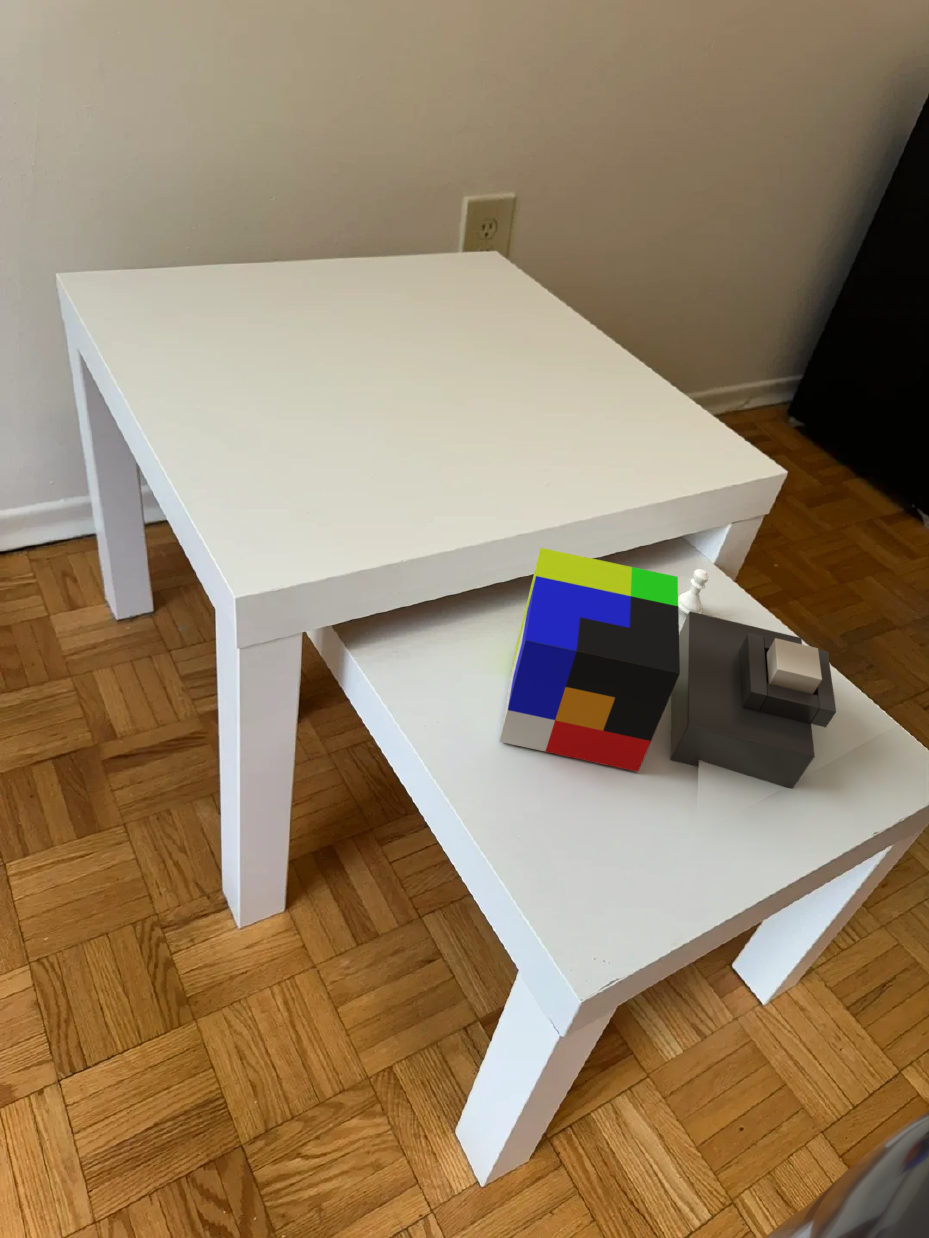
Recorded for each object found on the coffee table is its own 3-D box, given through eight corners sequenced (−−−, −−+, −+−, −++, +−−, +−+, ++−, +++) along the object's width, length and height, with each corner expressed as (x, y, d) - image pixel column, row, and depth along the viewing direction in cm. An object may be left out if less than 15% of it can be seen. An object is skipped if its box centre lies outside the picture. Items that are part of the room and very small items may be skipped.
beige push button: (812, 695, 66) (822, 679, 65) (768, 685, 67) (777, 668, 65) (808, 664, 69) (818, 648, 68) (766, 653, 69) (775, 637, 68)
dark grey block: (805, 795, 67) (841, 744, 63) (669, 761, 67) (696, 709, 63) (793, 676, 76) (824, 624, 72) (673, 647, 76) (696, 594, 72)
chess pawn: (706, 613, 80) (722, 578, 77) (689, 619, 79) (704, 583, 76) (687, 595, 81) (701, 559, 78) (670, 600, 80) (683, 564, 78)
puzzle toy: (499, 741, 66) (525, 640, 59) (515, 647, 73) (540, 547, 67) (638, 771, 66) (679, 673, 59) (640, 673, 73) (677, 576, 67)
